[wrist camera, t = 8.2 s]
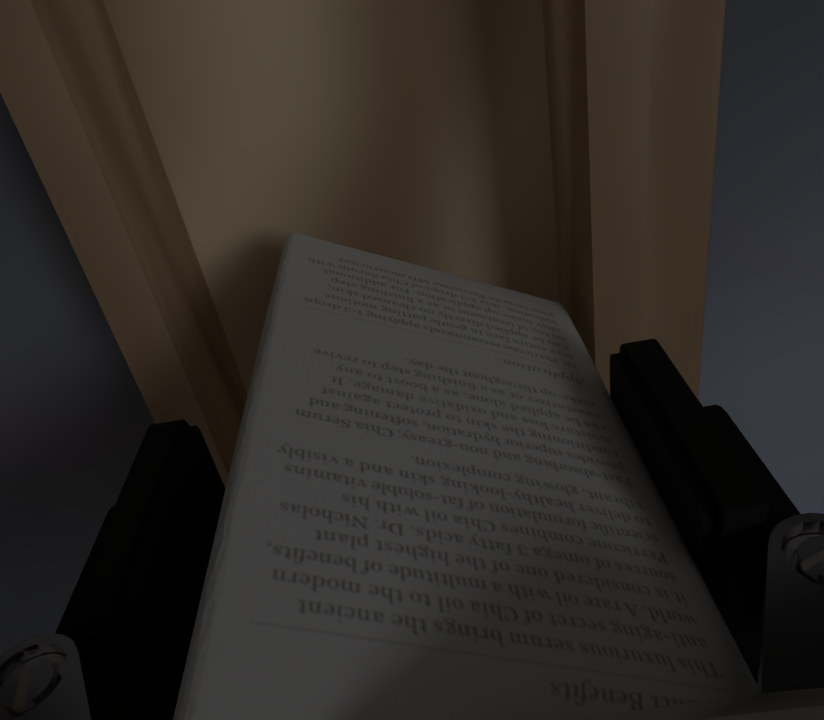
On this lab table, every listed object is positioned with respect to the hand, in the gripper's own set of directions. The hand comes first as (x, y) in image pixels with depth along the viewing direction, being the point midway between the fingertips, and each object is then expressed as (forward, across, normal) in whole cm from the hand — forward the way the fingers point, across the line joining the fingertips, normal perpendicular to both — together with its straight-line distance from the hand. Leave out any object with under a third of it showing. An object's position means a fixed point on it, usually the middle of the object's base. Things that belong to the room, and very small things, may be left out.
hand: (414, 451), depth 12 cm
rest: (+6, 0, -2) cm, 6 cm away
